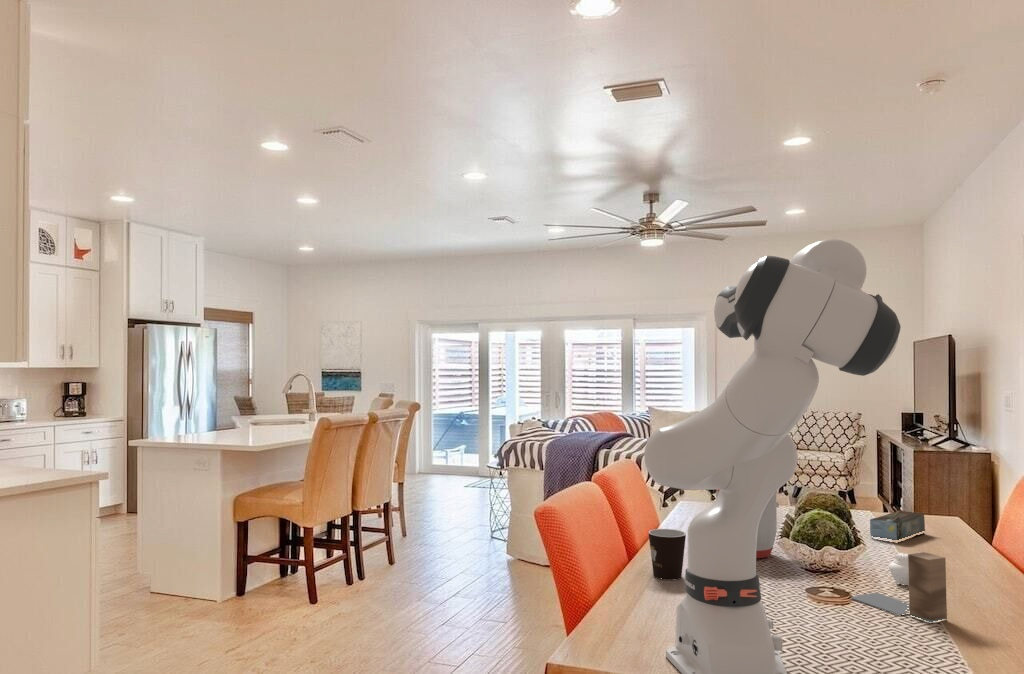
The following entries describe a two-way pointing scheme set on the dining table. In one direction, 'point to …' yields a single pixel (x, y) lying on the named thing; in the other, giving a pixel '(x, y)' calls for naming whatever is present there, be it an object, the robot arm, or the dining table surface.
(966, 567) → the dining table surface
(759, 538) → the citrus juicer
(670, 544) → the coffee mug
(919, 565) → the walnut block
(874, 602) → the slate mat
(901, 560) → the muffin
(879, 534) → the beverage carton
